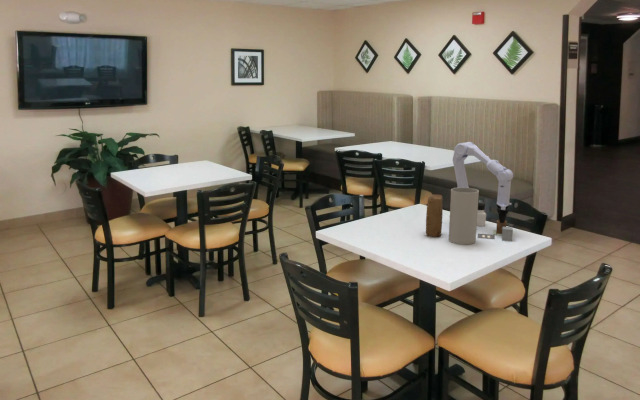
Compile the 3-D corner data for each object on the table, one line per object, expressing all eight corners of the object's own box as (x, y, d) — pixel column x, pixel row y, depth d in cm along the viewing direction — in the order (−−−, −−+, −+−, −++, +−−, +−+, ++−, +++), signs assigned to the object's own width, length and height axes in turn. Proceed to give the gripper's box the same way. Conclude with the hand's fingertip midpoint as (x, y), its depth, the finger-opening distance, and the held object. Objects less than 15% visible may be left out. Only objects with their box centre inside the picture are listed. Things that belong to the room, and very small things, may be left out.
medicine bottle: (482, 223, 288) (484, 201, 285) (484, 227, 281) (487, 205, 278) (468, 222, 289) (471, 201, 286) (471, 226, 282) (473, 204, 279)
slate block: (501, 241, 256) (502, 229, 255) (501, 238, 261) (502, 226, 259) (511, 241, 255) (512, 229, 254) (511, 239, 259) (512, 227, 258)
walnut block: (496, 233, 267) (496, 221, 266) (496, 231, 271) (497, 219, 270) (505, 234, 265) (506, 222, 264) (505, 231, 270) (506, 220, 268)
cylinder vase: (456, 246, 248) (459, 193, 243) (443, 238, 260) (446, 188, 255) (480, 244, 252) (484, 192, 246) (466, 236, 263) (469, 186, 258)
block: (440, 238, 261) (442, 198, 257) (424, 236, 263) (426, 197, 259) (442, 232, 271) (444, 193, 267) (427, 231, 273) (429, 192, 269)
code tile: (477, 238, 260) (477, 237, 260) (477, 234, 268) (477, 233, 268) (494, 239, 258) (494, 239, 258) (494, 235, 265) (494, 234, 265)
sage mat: (493, 235, 266) (493, 234, 266) (492, 231, 273) (493, 230, 273) (508, 236, 264) (509, 235, 264) (508, 232, 271) (508, 231, 271)
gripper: (512, 197, 256) (510, 225, 259) (511, 191, 269) (509, 217, 272) (497, 196, 258) (495, 223, 261) (497, 190, 271) (495, 216, 274)
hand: (501, 220), depth 267 cm, fingers open, 7 cm apart
